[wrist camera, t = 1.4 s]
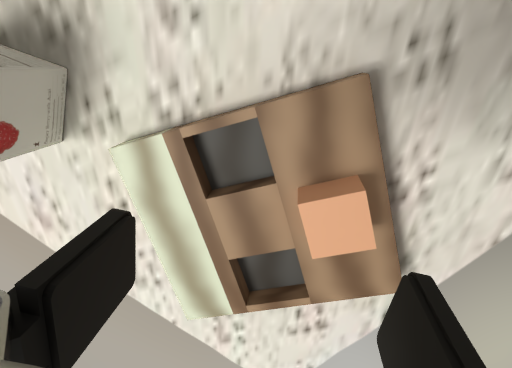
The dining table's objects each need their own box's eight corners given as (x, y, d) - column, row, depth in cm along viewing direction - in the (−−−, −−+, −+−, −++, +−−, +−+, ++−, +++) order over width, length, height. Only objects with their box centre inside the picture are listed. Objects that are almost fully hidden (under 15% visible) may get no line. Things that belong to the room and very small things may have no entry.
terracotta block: (357, 174, 30) (365, 190, 26) (367, 227, 32) (376, 248, 28) (297, 187, 31) (297, 204, 27) (310, 237, 33) (312, 259, 29)
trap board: (362, 72, 29) (368, 73, 26) (396, 274, 37) (403, 292, 34) (123, 142, 35) (108, 149, 32) (194, 303, 43) (187, 320, 40)
